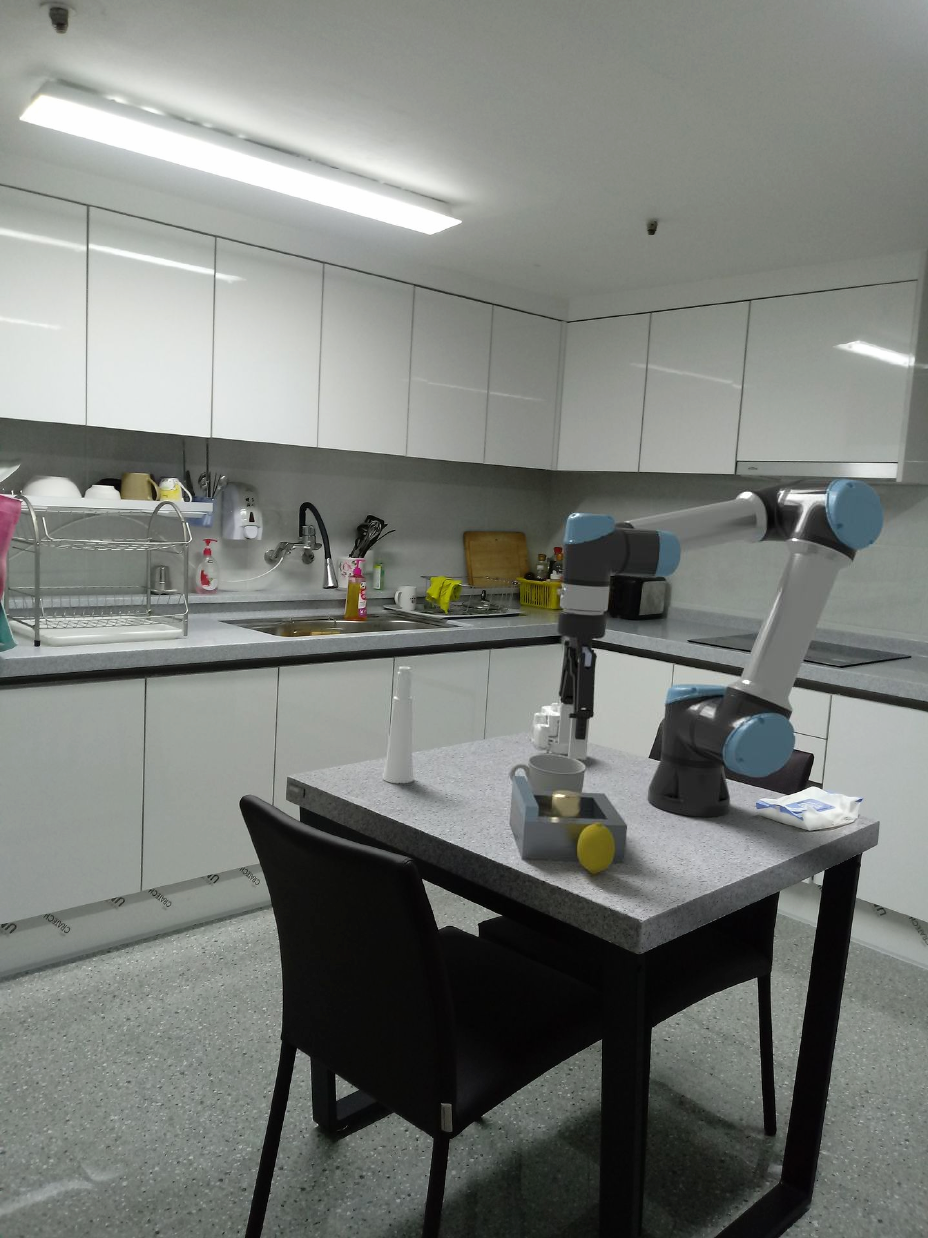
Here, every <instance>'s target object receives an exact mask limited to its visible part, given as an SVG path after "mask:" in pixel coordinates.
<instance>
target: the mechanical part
mask: <svg viewBox="0 0 928 1238" xmlns="http://www.w3.org/2000/svg"><path fill="white" fill-rule="evenodd" d="M560 709H561V705H559V703H557V702H553V703H552V702H551V703H550V705H545V706H542V707H541V712H535V713H534V716H533V722H532V725H531V733H530V735H531V736H530V738H531V739H530V740H531V743H532V745H533V747H534V749H535V750H537V751H539V752H540V751H546V753H545V754H550V752H551V754H554V755H555V754H557V755H561V754H565V756H567V757H568V752H569V744H563V743H558V734H559V721H560Z"/></svg>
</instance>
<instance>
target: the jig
mask: <svg viewBox="0 0 928 1238" xmlns="http://www.w3.org/2000/svg"><path fill="white" fill-rule="evenodd" d="M511 782H512V781H511ZM553 792H555V791H534V790H531V789H530V787H529V785H528V783H527V780H526V775H524V776H523V775H515V776H513V782H512V785H511V796H510V797H511V798H510V811H509V812H510V813H509V821H508V822H509V827H510V829H511V832H512V834H513V837H514V841H515V844H516V846H517V849H518V852H519V853H518V854H519V855H520V858H521V859H522V860H534V859H544V860H543V861H546V860H545V859H551V860H550V861H560V860H565V861H566V860H568V861H566V862H580V861H579V859H578V854H577V845H578V840H579V837H580V835H581V833H582V831H583V830H584V829H585V828H586V827H588V826H590V825H592V824H595V823H596V822H599V823H601V825H603V826H605V827H606V828H607V829H609V831H610V832H611V833H612V835H613V838H614V843H615V853H614V857H613V860H612V863H613V862H614V863H615V862H616V863H618V864H624V863H625V853H626V846H627V845H626V843H627V832H628V824H627V822H625V820H624V818H622V816H621V815H620V813H619V812H618V811H617V809H616V808H615V807H614V804H613V803H612V802H611V800H610V799H609V797H607V795H606V794H605V793H600V792H599V793H598V792H596V793H595V792H582V793H580V792H576V793H579V794H580V795H581V805H580V817H579V818H559V817H551V810H552V797H553ZM565 861H564V862H565Z"/></svg>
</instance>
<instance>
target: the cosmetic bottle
mask: <svg viewBox="0 0 928 1238" xmlns="http://www.w3.org/2000/svg"><path fill="white" fill-rule="evenodd" d="M398 670H399V671H398V672H397V673H396V688H395V690H396V691H395V696H393V701H392V708H391V716H390V717H391V718H390V727H389V737H388V744H387V745H388V746H387V752H386V758H385V759H386V760H385V764H384V770H383V774H382V780H384V781H385V782H387V783H392V784H399V783H400V784H401V783H402V784H409V783H412V782H413V781H414V778H415V777H414V770H413V769H414V768H413V697H411V694H412V693H411V690H412V689H411V688H412V672H411V667H409V666H399V667H398Z"/></svg>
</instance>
